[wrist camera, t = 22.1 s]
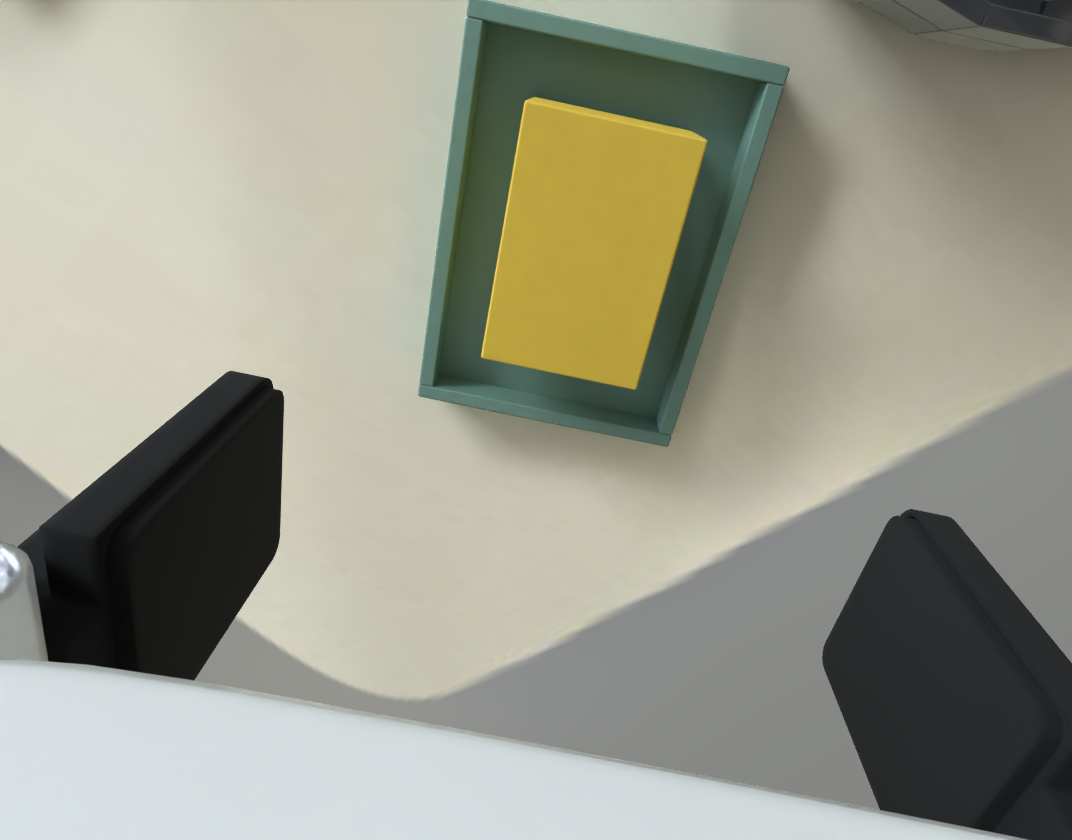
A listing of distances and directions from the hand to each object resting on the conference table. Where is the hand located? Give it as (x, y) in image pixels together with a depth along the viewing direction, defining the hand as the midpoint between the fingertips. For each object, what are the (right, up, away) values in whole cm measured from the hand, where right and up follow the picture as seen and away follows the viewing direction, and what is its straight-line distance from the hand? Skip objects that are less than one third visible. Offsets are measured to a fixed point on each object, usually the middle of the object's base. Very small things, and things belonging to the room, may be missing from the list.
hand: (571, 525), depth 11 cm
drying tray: (+1, +9, +18) cm, 20 cm away
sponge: (+1, +9, +17) cm, 20 cm away
